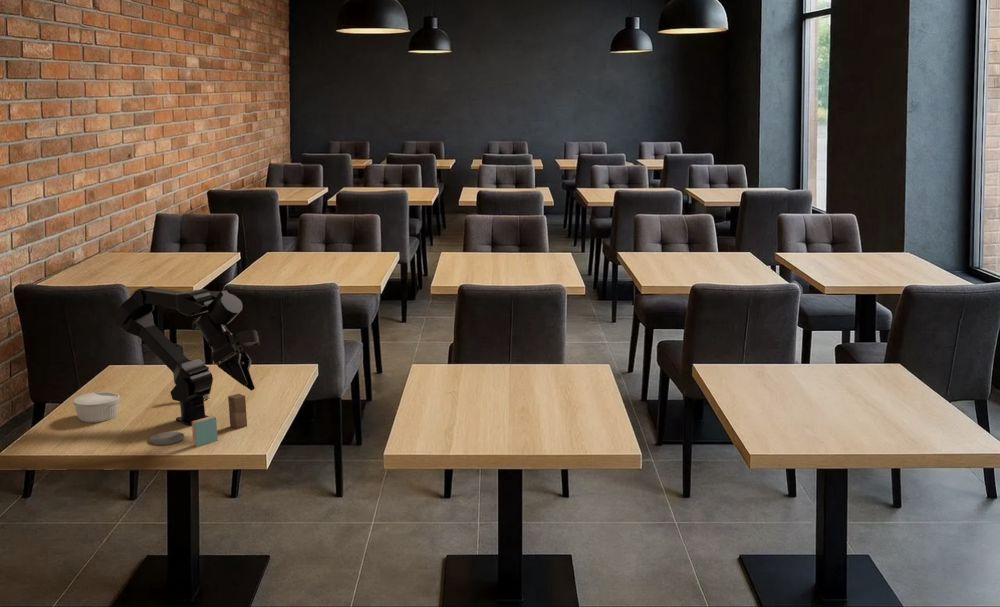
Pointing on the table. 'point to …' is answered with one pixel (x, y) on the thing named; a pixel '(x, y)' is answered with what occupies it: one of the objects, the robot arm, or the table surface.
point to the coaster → (166, 438)
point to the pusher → (237, 411)
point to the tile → (204, 431)
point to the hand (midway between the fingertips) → (249, 387)
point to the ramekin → (97, 406)
